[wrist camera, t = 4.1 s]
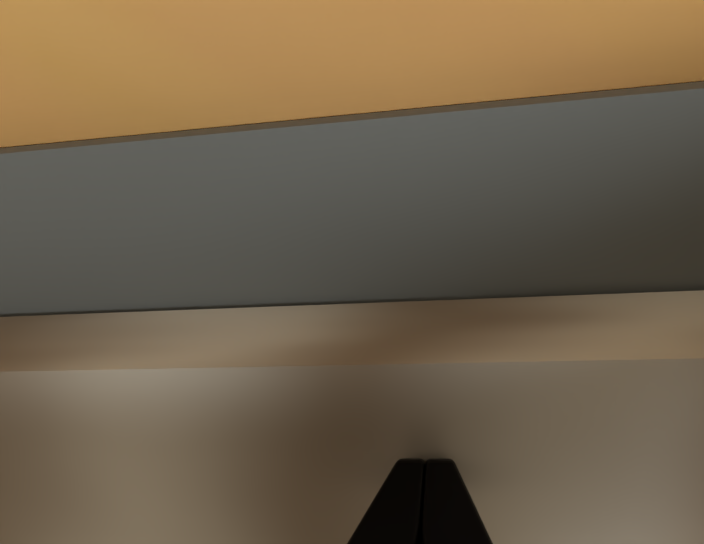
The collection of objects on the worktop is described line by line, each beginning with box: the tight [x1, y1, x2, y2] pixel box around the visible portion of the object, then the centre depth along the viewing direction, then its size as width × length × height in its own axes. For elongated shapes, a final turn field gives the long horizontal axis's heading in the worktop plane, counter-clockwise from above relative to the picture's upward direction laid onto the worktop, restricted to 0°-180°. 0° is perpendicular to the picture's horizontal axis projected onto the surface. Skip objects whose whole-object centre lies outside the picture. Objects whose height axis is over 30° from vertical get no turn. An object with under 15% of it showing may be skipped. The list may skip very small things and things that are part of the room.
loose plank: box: [0, 290, 704, 544], centre depth 12 cm, size 16×10×2 cm, turn 98°
